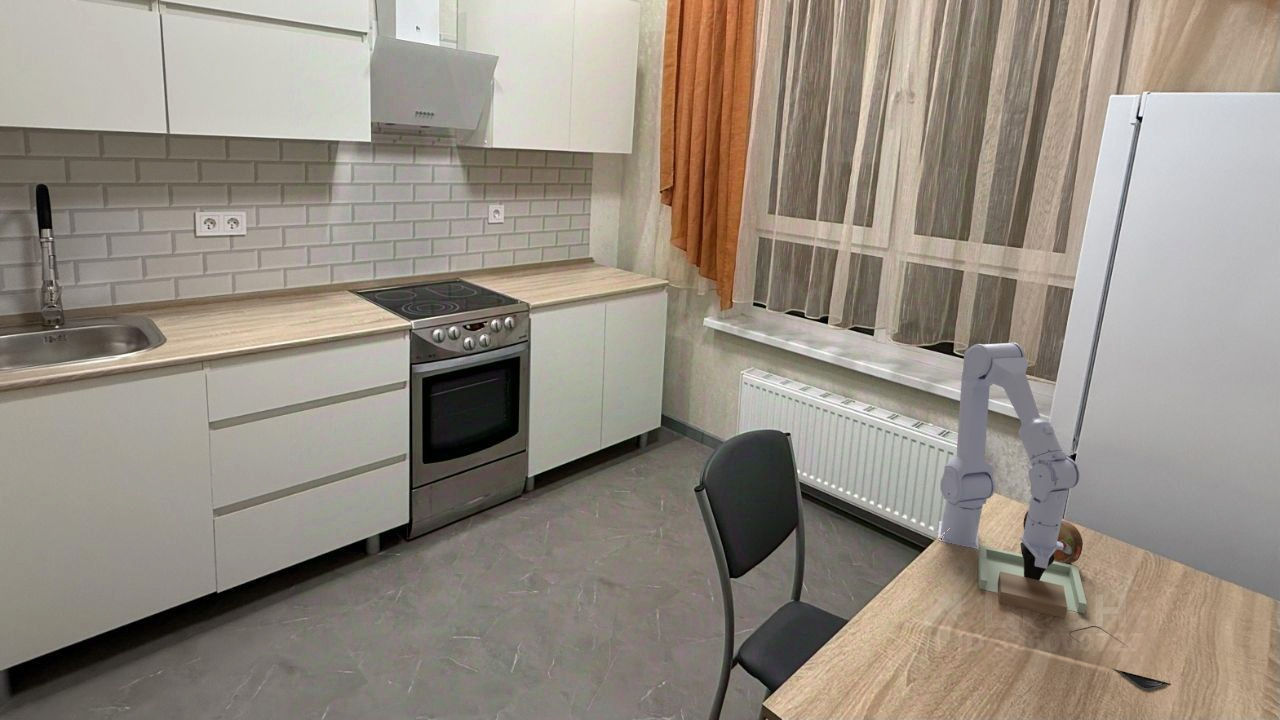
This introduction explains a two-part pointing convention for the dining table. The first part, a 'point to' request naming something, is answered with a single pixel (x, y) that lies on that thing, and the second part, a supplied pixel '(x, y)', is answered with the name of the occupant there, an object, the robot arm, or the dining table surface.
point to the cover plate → (1032, 594)
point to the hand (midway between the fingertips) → (1030, 582)
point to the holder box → (1013, 563)
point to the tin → (1067, 542)
